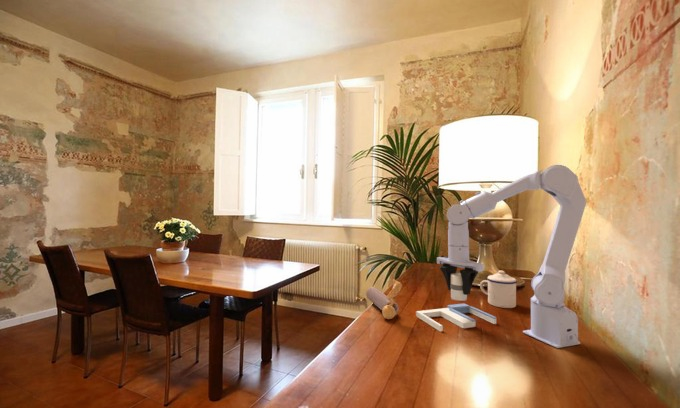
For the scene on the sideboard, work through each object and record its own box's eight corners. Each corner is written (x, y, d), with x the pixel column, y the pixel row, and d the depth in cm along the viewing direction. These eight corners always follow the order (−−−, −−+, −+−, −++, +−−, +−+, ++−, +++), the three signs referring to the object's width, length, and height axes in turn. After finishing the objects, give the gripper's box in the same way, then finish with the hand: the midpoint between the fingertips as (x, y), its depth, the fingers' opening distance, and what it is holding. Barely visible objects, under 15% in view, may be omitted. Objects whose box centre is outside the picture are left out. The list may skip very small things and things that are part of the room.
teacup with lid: (521, 305, 102) (521, 271, 102) (510, 310, 97) (509, 274, 97) (486, 296, 112) (486, 266, 112) (474, 301, 106) (474, 269, 106)
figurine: (388, 313, 93) (388, 275, 94) (406, 317, 90) (406, 277, 90) (376, 321, 86) (376, 280, 87) (395, 325, 83) (395, 282, 83)
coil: (400, 301, 91) (378, 286, 108) (386, 301, 90) (366, 286, 107) (398, 317, 91) (376, 299, 108) (384, 316, 90) (364, 299, 107)
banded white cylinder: (470, 300, 85) (470, 276, 85) (455, 301, 84) (455, 276, 84) (461, 295, 89) (461, 272, 89) (447, 296, 89) (447, 273, 89)
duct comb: (496, 323, 85) (496, 316, 85) (440, 331, 80) (440, 323, 80) (466, 309, 97) (466, 303, 97) (415, 315, 91) (415, 308, 91)
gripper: (489, 247, 83) (490, 295, 83) (447, 242, 95) (447, 284, 95) (474, 248, 79) (474, 299, 79) (432, 243, 92) (432, 287, 91)
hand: (458, 291), depth 87 cm, fingers closed on banded white cylinder, 5 cm apart
